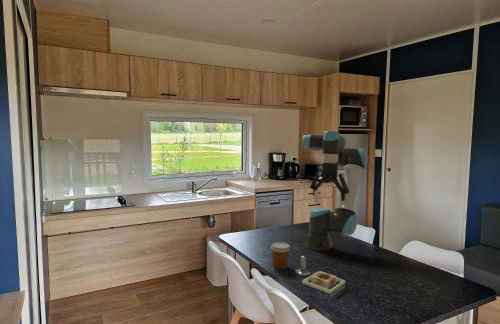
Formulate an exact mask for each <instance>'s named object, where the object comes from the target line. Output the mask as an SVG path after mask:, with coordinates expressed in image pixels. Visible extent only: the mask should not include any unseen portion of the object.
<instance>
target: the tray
mask: <svg viewBox="0 0 500 324" xmlns="http://www.w3.org/2000/svg"><path fill="white" fill-rule="evenodd" d="M318 272H320V271H316V272H315V273H313V274H311V275H308V277H306V278H304V279H302V281H301V282H302V283H301V284H303V285H305V286H308V287H311V288H313V289H316V290H319V291H321V292H323V293H326V294H329V296H328V298H332V297H333V296H334V295H336V294H337V293H339V292H340V291H341V290H343V289H344V288H346V280H345V279H342V278H340V277H337V283H338V284H335V285H334V286H332V287H331V288H329V289H326V288H324V287H321V286H318V285H316V284H313V283H311V276H313V275H315V274H316V273H318Z"/></svg>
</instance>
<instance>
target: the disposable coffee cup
mask: <svg viewBox="0 0 500 324" xmlns="http://www.w3.org/2000/svg"><path fill="white" fill-rule="evenodd" d="M270 249H271V254H272V265H273V267H274V269H275V268H276V269H280V270H283V269H286V268H287V266H288V260H289V253H290V250H291V247H290V244H289V243H286V242H282V241H277V242H273V243H272V244H271V246H270Z"/></svg>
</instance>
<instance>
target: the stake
mask: <svg viewBox="0 0 500 324" xmlns="http://www.w3.org/2000/svg"><path fill="white" fill-rule="evenodd" d="M306 265H307V256H306V255H301V256H300V267H299V268H298V269H296V270H295V271H294V272H295V274H297V275H300V276H310V274H311V271H310V270H308V269H306V268H307V267H306Z"/></svg>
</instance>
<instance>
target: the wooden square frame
mask: <svg viewBox="0 0 500 324" xmlns="http://www.w3.org/2000/svg"><path fill="white" fill-rule="evenodd" d="M317 272H318V271H317ZM315 273H316V272H315ZM315 273H314V274H315ZM312 275H313V274H312ZM310 276H311V275H310ZM337 278H338V276H336V275H334V274H330V273H328V272H325V271H322V270H320V271H319V272H318V273H316V274H315V275H313V276H311V280H310V283H313V284H316V285H318V286H321V287H324V288H326V289H329V290H330V289H332V288H333V287H335V286H336V285H337V283H338V282H337Z"/></svg>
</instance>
